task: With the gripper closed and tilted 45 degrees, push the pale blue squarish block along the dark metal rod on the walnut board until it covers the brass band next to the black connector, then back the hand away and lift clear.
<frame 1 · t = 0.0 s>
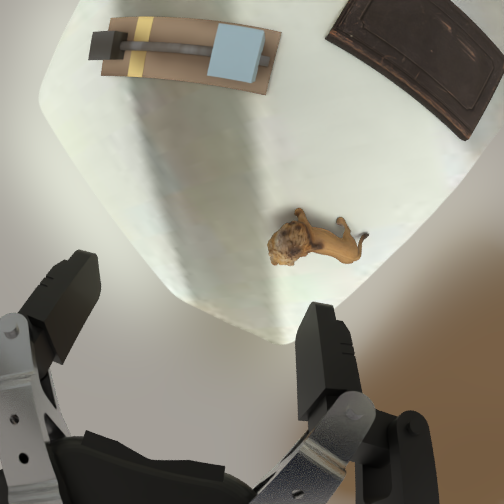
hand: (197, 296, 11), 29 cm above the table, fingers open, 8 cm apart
hardcover book: (425, 44, 26), on the table
pale blue squarish block: (239, 54, 25), point 6 cm above the table, slide at 0.0 cm
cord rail: (186, 49, 29), on the table
lion figurine: (315, 227, 42), on the table
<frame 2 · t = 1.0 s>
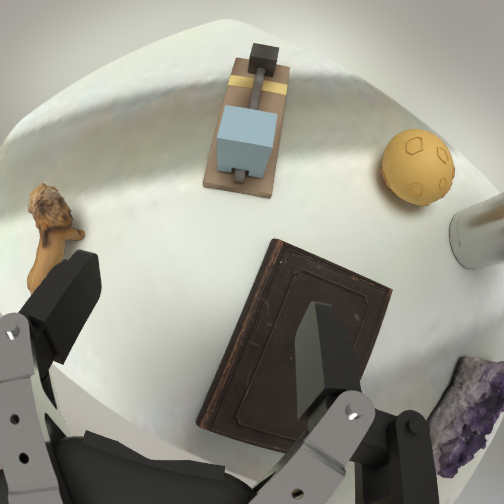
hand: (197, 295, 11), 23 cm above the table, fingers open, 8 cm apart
hardcover book: (295, 356, 34), on the table
geode: (452, 410, 34), on the table
pale blue squarish block: (245, 143, 31), point 6 cm above the table, slide at 0.0 cm
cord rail: (250, 120, 37), on the table
stress ball: (399, 181, 38), on the table
lion figurine: (65, 257, 32), on the table
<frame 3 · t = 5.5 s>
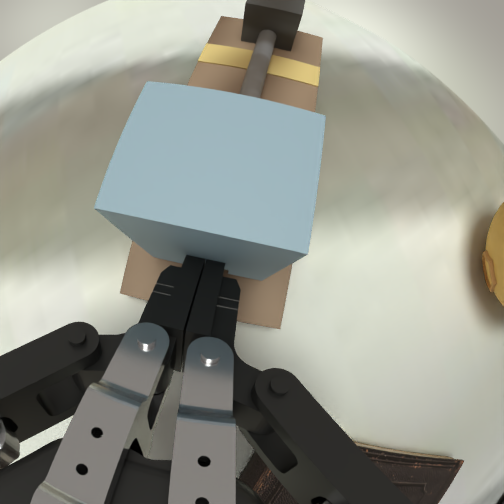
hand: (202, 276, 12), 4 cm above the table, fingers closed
pale blue squarish block: (215, 202, 11), point 6 cm above the table, slide at 0.6 cm, touching gripper
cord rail: (240, 137, 18), on the table
stress ball: (495, 265, 19), on the table
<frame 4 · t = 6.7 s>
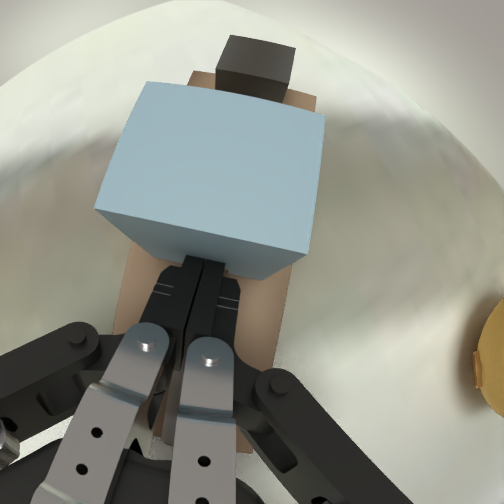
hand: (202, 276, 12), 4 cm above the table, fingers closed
pale blue squarish block: (215, 202, 11), point 6 cm above the table, slide at 7.5 cm, touching gripper
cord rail: (214, 245, 16), on the table
stress ball: (487, 349, 17), on the table
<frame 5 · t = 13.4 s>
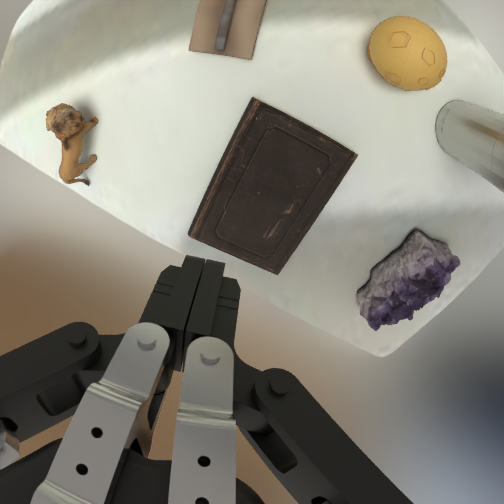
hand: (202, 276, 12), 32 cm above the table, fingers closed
hardcover book: (267, 189, 44), on the table
geode: (399, 270, 50), on the table
stress ball: (393, 54, 31), on the table
lion figurine: (85, 138, 40), on the table
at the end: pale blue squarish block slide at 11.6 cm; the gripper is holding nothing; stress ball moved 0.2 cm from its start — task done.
